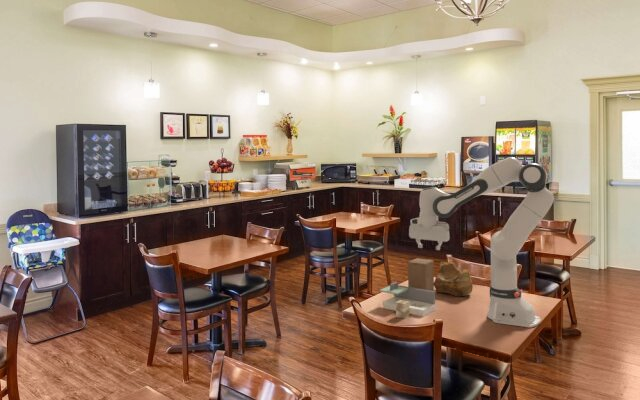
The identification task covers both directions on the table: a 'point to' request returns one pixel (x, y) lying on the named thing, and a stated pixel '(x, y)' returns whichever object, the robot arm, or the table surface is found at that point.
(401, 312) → the birch block
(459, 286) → the rough brown rock
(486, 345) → the table surface
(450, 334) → the table surface
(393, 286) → the slide lid
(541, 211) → the robot arm
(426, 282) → the wooden block
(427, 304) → the puzzle board
